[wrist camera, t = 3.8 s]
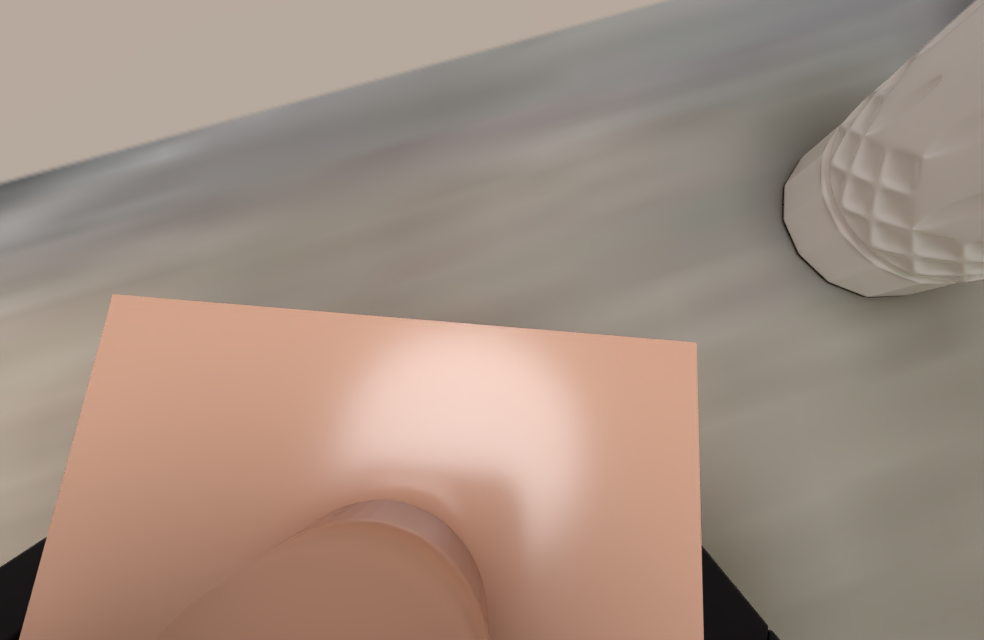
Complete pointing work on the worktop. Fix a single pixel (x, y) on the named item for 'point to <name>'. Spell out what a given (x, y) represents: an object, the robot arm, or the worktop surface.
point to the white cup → (901, 176)
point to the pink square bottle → (373, 482)
